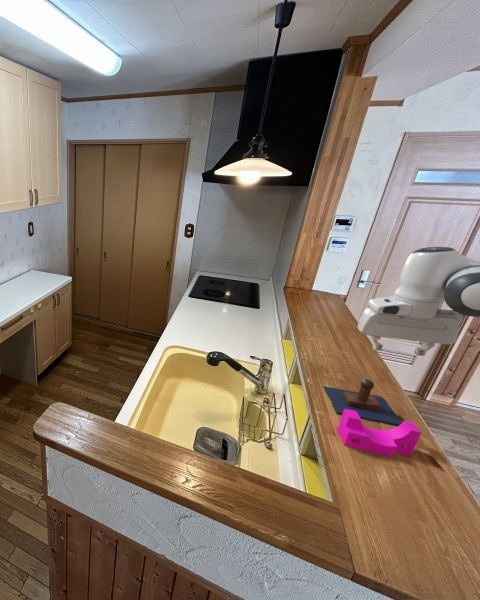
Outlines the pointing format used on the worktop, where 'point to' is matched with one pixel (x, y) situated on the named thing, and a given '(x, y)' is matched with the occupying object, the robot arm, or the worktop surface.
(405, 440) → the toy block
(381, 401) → the ink pad
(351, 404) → the stamp
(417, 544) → the worktop surface
